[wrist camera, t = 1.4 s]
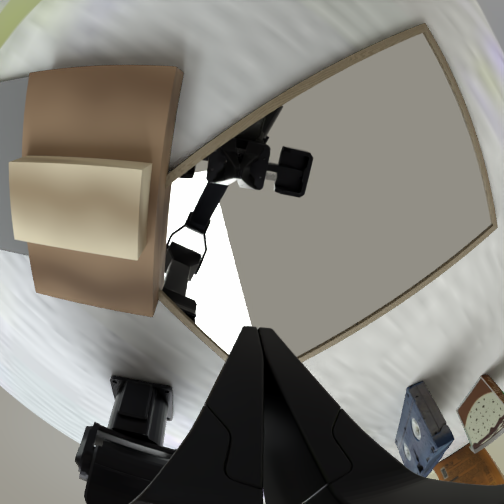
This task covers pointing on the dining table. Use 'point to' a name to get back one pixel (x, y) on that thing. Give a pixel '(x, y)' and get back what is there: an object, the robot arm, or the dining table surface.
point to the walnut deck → (104, 147)
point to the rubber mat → (10, 155)
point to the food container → (482, 413)
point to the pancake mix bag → (469, 468)
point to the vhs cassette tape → (422, 431)
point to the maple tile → (81, 203)
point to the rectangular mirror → (327, 202)
